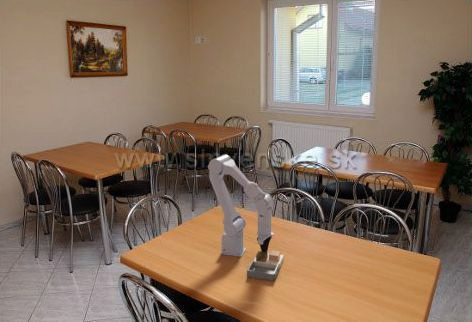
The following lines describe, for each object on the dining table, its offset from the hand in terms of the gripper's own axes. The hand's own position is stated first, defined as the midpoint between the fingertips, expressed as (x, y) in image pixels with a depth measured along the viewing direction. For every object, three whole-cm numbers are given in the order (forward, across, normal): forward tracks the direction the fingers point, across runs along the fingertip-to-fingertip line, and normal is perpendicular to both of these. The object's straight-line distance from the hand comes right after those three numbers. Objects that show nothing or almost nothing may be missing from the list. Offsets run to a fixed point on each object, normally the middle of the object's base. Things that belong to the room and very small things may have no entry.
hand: (264, 252), depth 170 cm
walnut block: (+1, -4, 0) cm, 4 cm away
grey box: (+3, -12, -2) cm, 12 cm away
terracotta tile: (+1, -2, -5) cm, 6 cm away
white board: (+3, -3, -2) cm, 5 cm away
